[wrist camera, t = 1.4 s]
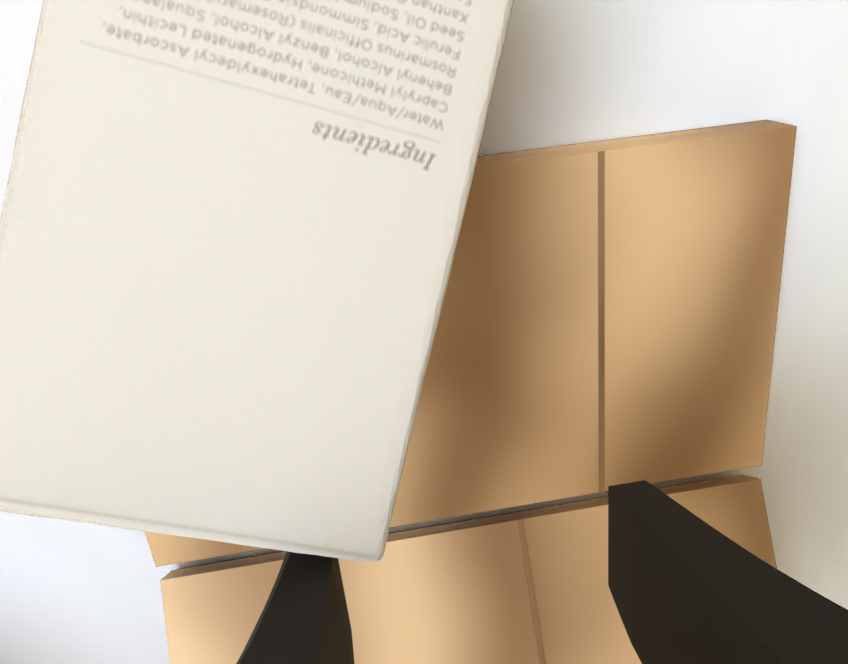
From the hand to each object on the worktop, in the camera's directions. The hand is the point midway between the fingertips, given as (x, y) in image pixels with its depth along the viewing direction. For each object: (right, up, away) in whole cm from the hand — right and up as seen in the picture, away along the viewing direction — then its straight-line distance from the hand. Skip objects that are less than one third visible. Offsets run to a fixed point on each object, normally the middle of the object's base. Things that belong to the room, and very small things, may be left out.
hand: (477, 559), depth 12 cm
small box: (-2, +12, +1) cm, 12 cm away
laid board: (0, +3, +9) cm, 9 cm away
